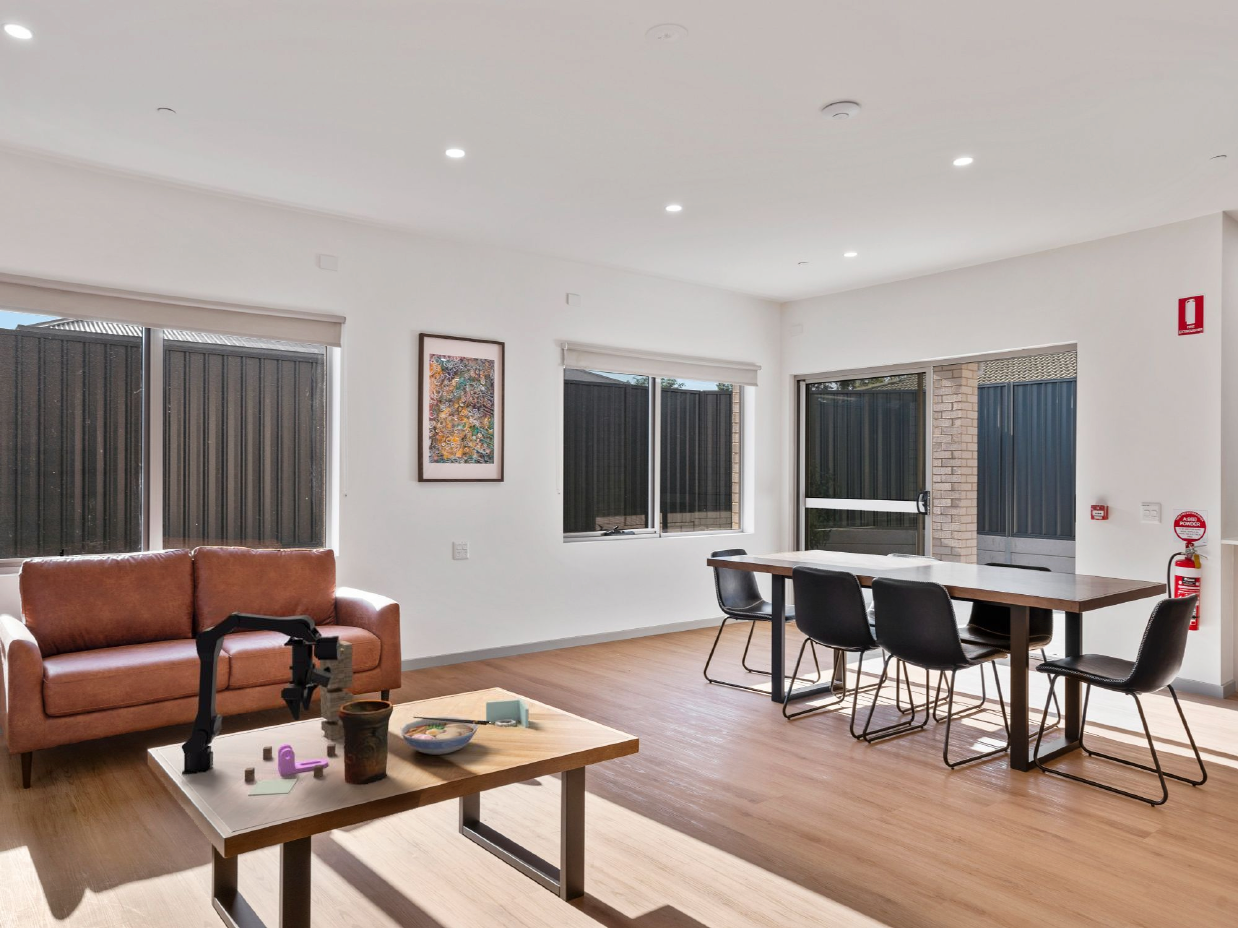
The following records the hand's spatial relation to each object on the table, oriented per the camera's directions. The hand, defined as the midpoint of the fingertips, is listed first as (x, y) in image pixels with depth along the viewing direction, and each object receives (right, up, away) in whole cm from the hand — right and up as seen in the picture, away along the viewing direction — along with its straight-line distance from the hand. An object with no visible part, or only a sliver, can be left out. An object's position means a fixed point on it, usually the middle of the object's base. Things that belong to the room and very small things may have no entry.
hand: (301, 715), depth 247 cm
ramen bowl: (+37, -15, +11) cm, 41 cm away
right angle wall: (+54, -15, +36) cm, 67 cm away
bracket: (+2, -14, -3) cm, 15 cm away
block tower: (+1, -14, +26) cm, 30 cm away
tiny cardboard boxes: (-2, -14, -2) cm, 14 cm away
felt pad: (-1, -14, -18) cm, 23 cm away
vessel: (+22, -14, -11) cm, 28 cm away
